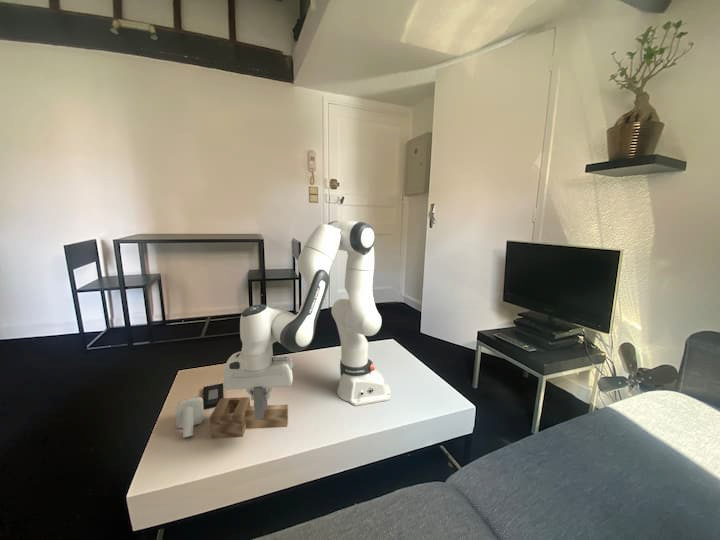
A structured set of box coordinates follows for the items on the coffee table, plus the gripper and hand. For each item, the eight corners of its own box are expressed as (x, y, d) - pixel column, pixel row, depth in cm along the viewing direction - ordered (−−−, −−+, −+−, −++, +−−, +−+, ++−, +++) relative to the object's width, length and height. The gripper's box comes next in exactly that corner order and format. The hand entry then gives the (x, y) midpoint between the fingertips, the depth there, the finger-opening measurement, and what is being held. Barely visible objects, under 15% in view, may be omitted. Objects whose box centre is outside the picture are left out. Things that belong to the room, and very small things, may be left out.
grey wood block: (267, 405, 97) (265, 377, 95) (263, 418, 91) (261, 388, 90) (259, 406, 97) (257, 378, 95) (255, 418, 91) (252, 389, 89)
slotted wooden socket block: (289, 415, 110) (289, 395, 109) (285, 434, 101) (285, 413, 99) (222, 418, 108) (220, 398, 107) (211, 438, 98) (209, 416, 97)
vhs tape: (223, 387, 128) (223, 382, 128) (224, 406, 116) (223, 401, 115) (203, 391, 125) (203, 386, 125) (202, 411, 112) (201, 406, 112)
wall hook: (173, 443, 95) (171, 412, 95) (178, 430, 104) (177, 401, 105) (201, 436, 98) (200, 406, 99) (204, 424, 108) (202, 396, 108)
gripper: (293, 351, 95) (295, 391, 97) (227, 354, 93) (230, 394, 96) (291, 361, 89) (293, 403, 91) (219, 364, 87) (223, 407, 89)
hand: (260, 398), depth 93 cm, fingers closed on grey wood block, 2 cm apart
